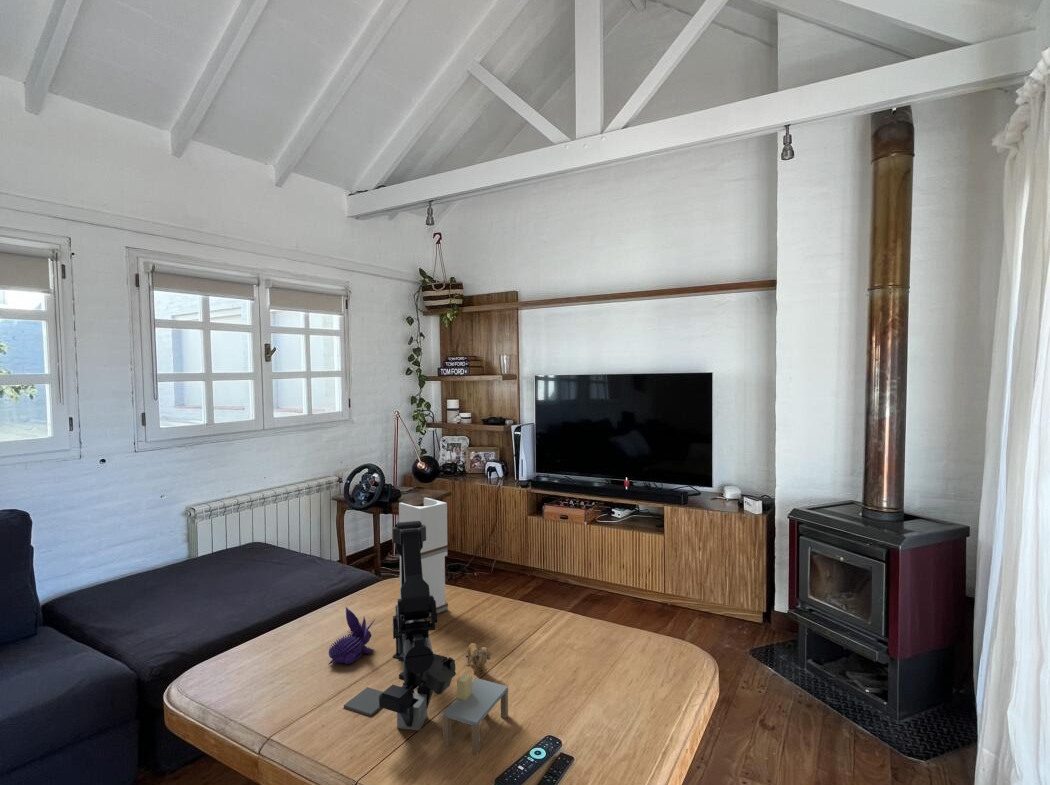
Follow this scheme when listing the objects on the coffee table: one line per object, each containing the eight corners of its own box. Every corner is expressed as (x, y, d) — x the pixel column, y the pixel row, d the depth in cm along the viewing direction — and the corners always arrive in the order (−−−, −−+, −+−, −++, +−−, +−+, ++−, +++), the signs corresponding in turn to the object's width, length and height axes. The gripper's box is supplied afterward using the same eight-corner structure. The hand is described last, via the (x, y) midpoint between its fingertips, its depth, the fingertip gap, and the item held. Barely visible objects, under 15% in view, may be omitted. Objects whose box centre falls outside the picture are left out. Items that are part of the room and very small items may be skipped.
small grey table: (443, 744, 114) (442, 693, 114) (476, 707, 127) (476, 661, 127) (476, 755, 111) (476, 703, 111) (508, 716, 124) (507, 668, 123)
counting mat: (343, 707, 127) (343, 705, 127) (367, 689, 135) (367, 687, 135) (371, 716, 124) (371, 713, 124) (393, 697, 131) (393, 694, 131)
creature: (388, 644, 157) (387, 602, 156) (339, 675, 141) (338, 628, 141) (365, 637, 161) (365, 596, 161) (315, 666, 145) (314, 621, 145)
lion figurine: (494, 676, 140) (493, 648, 140) (478, 681, 138) (478, 653, 138) (472, 656, 150) (472, 629, 150) (458, 660, 148) (458, 633, 148)
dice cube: (406, 713, 125) (405, 692, 124) (427, 716, 124) (427, 694, 124) (397, 727, 120) (396, 705, 120) (419, 730, 119) (418, 707, 119)
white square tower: (448, 609, 180) (446, 502, 179) (421, 619, 172) (419, 508, 171) (427, 599, 188) (425, 497, 187) (400, 609, 180) (398, 503, 179)
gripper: (421, 679, 109) (422, 756, 109) (469, 637, 126) (470, 704, 126) (376, 667, 113) (377, 740, 114) (428, 628, 130) (429, 692, 131)
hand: (417, 718), depth 121 cm, fingers closed on dice cube, 5 cm apart
